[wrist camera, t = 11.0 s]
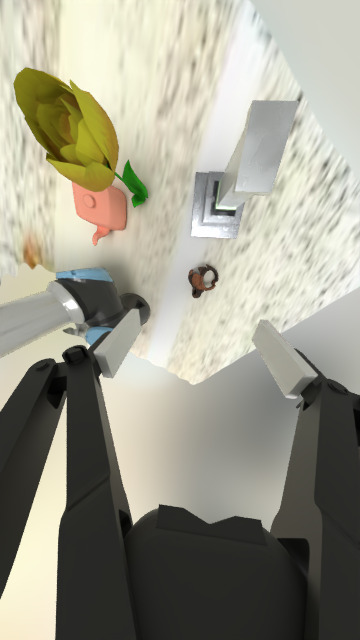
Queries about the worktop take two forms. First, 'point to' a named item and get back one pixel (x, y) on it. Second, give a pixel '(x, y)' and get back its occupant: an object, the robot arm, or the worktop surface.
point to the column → (256, 154)
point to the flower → (73, 132)
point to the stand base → (203, 215)
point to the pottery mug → (201, 280)
